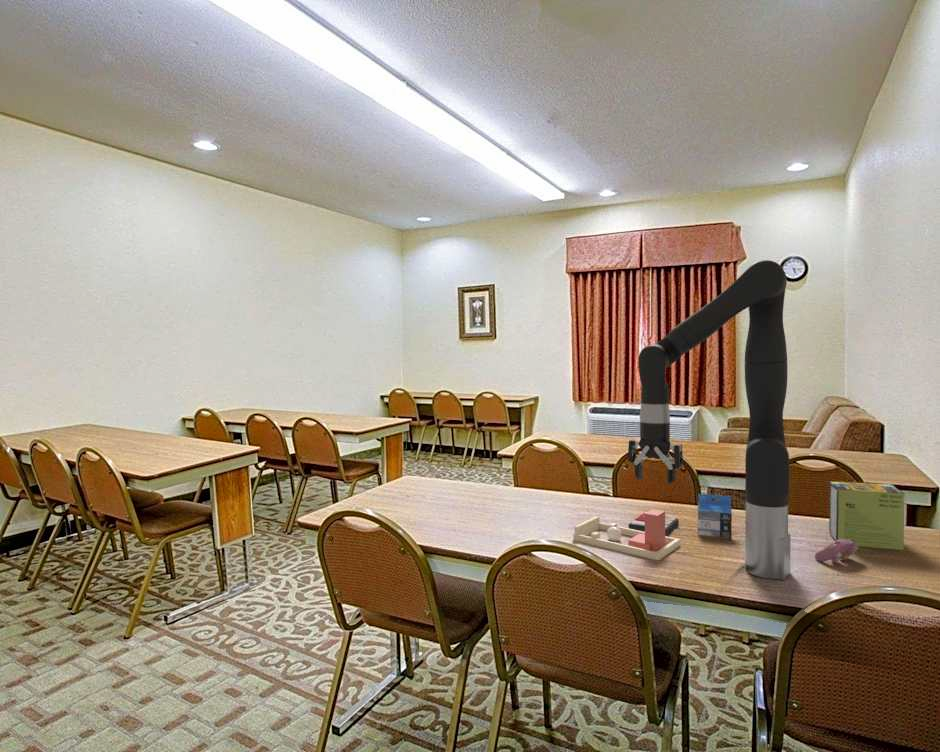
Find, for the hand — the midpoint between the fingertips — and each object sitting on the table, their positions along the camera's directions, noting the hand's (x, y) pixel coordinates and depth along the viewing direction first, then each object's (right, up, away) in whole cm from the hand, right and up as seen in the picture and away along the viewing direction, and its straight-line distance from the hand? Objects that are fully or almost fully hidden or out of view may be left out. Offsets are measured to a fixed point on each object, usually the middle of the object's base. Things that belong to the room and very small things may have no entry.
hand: (654, 480), depth 152 cm
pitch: (-6, -20, +7) cm, 22 cm away
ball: (-9, -17, +9) cm, 21 cm away
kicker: (-1, -18, +2) cm, 19 cm away
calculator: (+6, -19, +20) cm, 28 cm away
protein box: (+61, -19, +7) cm, 64 cm away
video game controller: (+45, -20, -6) cm, 49 cm away
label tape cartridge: (+21, -19, +12) cm, 31 cm away
